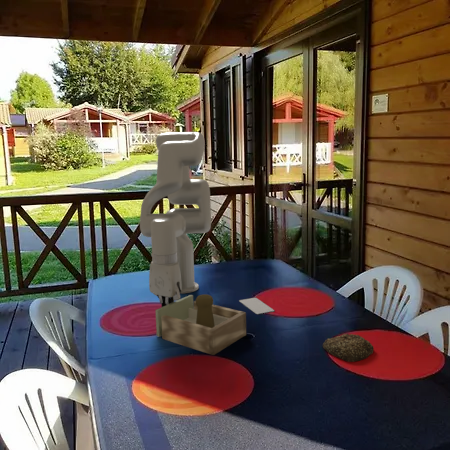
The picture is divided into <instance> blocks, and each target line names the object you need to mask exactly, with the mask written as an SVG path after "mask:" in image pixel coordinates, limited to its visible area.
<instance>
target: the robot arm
mask: <svg viewBox="0 0 450 450" xmlns="http://www.w3.org/2000/svg"><path fill="white" fill-rule="evenodd" d="M204 137H205V136H204V135H203V133H201V132H199V131H198V132H197V131H179V132H178V131H173V132H172V131H171V132H162V133H160V134H158V135H157V136H156V138H155V144H156V148H157V151H158V152H157V168H156V183H155V184H154V185H153V187H151V188H150V190H149V191H148V192H147V193H146V194H145V197H144V198H143V200H142V203H141V206H140V207H141V208H140V219H139V231H140V233H141V235H142V236H144V237H145V238H146V237H147V238H151V241H150V242H151V253H150V256H151V257H152V259H151V260H152V261H151V262H150V266H149V274H148V283H149V284H148V286H149V292H150V293H151V294H153V295H154V296H156V297H157V298H158V300H159V303H160V304H161V307H164V306H166V305H168V304H170V303H173V302H175V301H177V300H180V299H182V298H181V294H182V295H183V294H190V293H193V292H196V291H197V290H199V284H198V283H197V282H195V264H194V263H195V262H194V259H195V258H194V242H193V241H192V239H191V238H190V237H189V236H188V234H206V233H208V232H209V231H211V226H212V213H211V212H212V209H211V208H212V206H211V189H210V185H209V183H208V181H207V180H206V179H202V178H195V179H194V178H192V179H191V178H190V167H193V166H194V167H197V166H199V165H200V164H201V162H202V159H203V156H204V151H205V147H206V144H205V143H206V142H205V138H204ZM166 197H167V199H168V202H169V203H170V204H172V205H177V206H179V205H180V206H181V205H182V206H185V205H186V206H187V205H190V206H191V205H192V206H193V205H196V206H197V207H191V208H190V207H185V208H183V207H179V208H171V209H169V210H167V211H166V213H151V211H152V209H153V207H154V206H155V204H156V203H157V202H158V201H160V200H161V199H163V198H166Z"/></svg>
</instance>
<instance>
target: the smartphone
mask: <svg viewBox="0 0 450 450" xmlns="http://www.w3.org/2000/svg"><path fill="white" fill-rule="evenodd" d="M238 302H239V303H241V304H242V305H243V306H244V307H246V308H247V309H248V310H250V311H251V312H253V313H254V314H255V315H263V313H264V314H269V312H270V313H273V312H274V313H275V309H273V308H272V307H270V306H269V305H268V304H267V303H264V301H262V300H260V299H259V298H257V297H250V298H244V299H239V300H238Z"/></svg>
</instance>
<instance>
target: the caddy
mask: <svg viewBox="0 0 450 450" xmlns="http://www.w3.org/2000/svg"><path fill="white" fill-rule="evenodd" d="M193 308H194V309H196V310H197V309H198V307H197V306H196V300H193ZM212 312H213V314H215V315H219V316H223V317H227V318H229V319H228V320H226V321H224V322H222V323H220V324H219V325H217V326H215V327H213V328H210V327H206V326H202V325H199V324H195V323H192V322H188V321H184V320H181V319H177V318H174V317H170V316H167V315H164V316H161V319H162V336H161V337H162V339H163V340H165V341H166V342H167V341H168V342H171V343H174V344H177V345H179V346H180V345H181V346H183V347H186V348H189V349H193V350H196V351H199V352H202V353H206V354H208V355H212V356H215V355H217V354H218V353H220V352H221V351H223V350H224V349H226V348H228V347H230V346H231V345H232V344H234V343H235V342H237V341H239V340H240V339H242V338H244V337H246V336H247V312H245V311H242V310H237V309H232V308H229V307H225V306H220V305H218V304H217V305H216V304H213V305H212Z"/></svg>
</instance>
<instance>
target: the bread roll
mask: <svg viewBox="0 0 450 450" xmlns="http://www.w3.org/2000/svg"><path fill="white" fill-rule="evenodd" d="M322 347H323V349H324V350H325V351H326V352H327V353H329V354H330V355H332V356H333V357H336V358H338V359H340V360H343V361H345V362H348V363H352V362H354V363H355V362H358V361H359V362H360V361H363V360H366V359H368V358H369V356H371V355H373V353H374V346H373V344H372V343H371V342H370V341H368V340H367V339H366V338H364V337H363V336H361V335H359V334H353V333H350V334H349V333H343V334H342V335H340V336H339V335H338V336H337V335H336V336H334V337H331V338H327V339H325V340H324V342H323V343H322Z"/></svg>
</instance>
